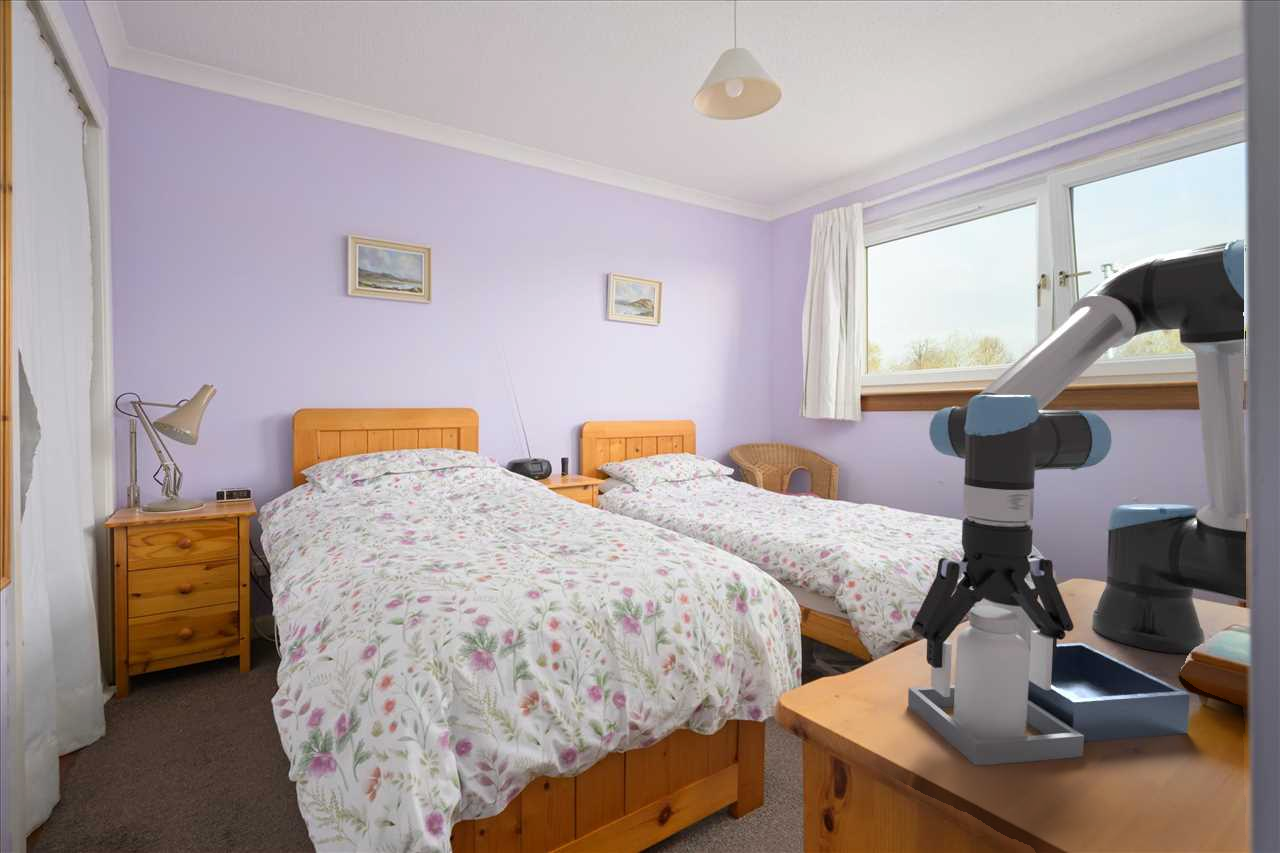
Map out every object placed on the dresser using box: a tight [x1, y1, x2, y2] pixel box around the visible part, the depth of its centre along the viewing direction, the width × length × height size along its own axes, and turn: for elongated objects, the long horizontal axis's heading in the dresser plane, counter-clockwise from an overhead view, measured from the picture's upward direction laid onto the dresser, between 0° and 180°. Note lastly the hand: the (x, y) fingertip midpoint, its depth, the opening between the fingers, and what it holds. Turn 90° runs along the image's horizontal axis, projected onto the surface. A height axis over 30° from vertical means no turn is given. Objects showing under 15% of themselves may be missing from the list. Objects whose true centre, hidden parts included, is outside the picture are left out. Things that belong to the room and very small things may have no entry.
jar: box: [974, 578, 1041, 646], centre depth 100 cm, size 9×8×12 cm
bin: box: [1028, 642, 1191, 743], centre depth 84 cm, size 16×16×5 cm
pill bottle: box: [953, 605, 1030, 740], centre depth 78 cm, size 8×8×15 cm
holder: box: [907, 684, 1085, 767], centre depth 78 cm, size 14×14×2 cm
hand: (990, 688), depth 78 cm, fingers open, 13 cm apart
